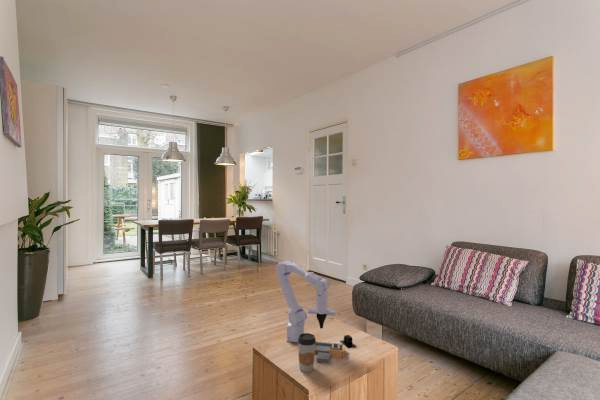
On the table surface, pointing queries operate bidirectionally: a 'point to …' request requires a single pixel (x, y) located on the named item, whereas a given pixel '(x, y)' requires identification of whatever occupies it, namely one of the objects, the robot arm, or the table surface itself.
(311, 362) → the coffee cup
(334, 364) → the table surface
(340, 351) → the rail
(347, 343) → the black boxy piece
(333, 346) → the metal block
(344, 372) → the table surface
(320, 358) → the gray square block
